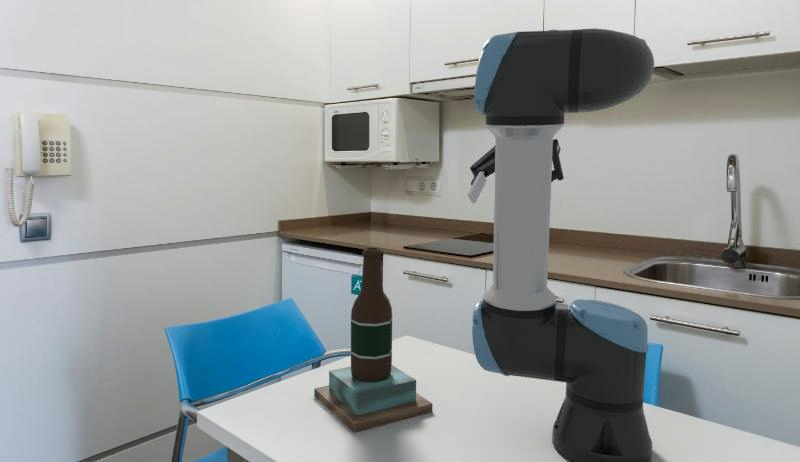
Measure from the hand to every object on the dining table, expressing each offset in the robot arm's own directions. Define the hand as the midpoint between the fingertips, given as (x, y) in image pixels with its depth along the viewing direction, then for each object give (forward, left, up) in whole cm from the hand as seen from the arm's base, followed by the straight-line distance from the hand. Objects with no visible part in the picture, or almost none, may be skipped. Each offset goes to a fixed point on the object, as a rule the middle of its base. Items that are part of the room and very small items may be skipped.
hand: (500, 201), depth 113 cm
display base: (+4, +27, -38) cm, 46 cm away
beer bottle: (+4, +27, -32) cm, 42 cm away
